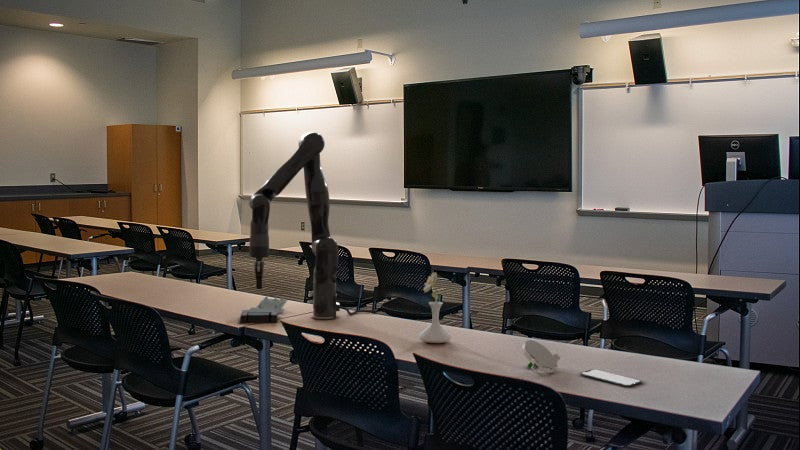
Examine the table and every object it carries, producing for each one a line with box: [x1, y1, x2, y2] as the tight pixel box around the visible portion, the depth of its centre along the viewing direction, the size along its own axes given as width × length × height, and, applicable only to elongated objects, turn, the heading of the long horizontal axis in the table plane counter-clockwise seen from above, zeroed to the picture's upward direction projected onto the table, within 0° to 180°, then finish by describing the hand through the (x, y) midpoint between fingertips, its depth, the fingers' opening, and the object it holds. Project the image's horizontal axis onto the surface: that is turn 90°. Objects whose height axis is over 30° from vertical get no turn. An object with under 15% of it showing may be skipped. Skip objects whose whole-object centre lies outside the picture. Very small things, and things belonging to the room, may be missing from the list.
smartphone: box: [579, 368, 642, 387], centre depth 205 cm, size 8×1×16 cm
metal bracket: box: [249, 296, 288, 315], centre depth 306 cm, size 14×6×15 cm
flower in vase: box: [418, 271, 453, 344], centre depth 248 cm, size 13×11×25 cm
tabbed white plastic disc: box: [521, 339, 562, 374], centre depth 215 cm, size 15×8×11 cm, turn 143°
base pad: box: [239, 309, 278, 324], centre depth 285 cm, size 14×12×3 cm
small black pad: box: [247, 313, 270, 324], centre depth 282 cm, size 8×5×3 cm, turn 99°
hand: (259, 288), depth 281 cm, fingers closed
